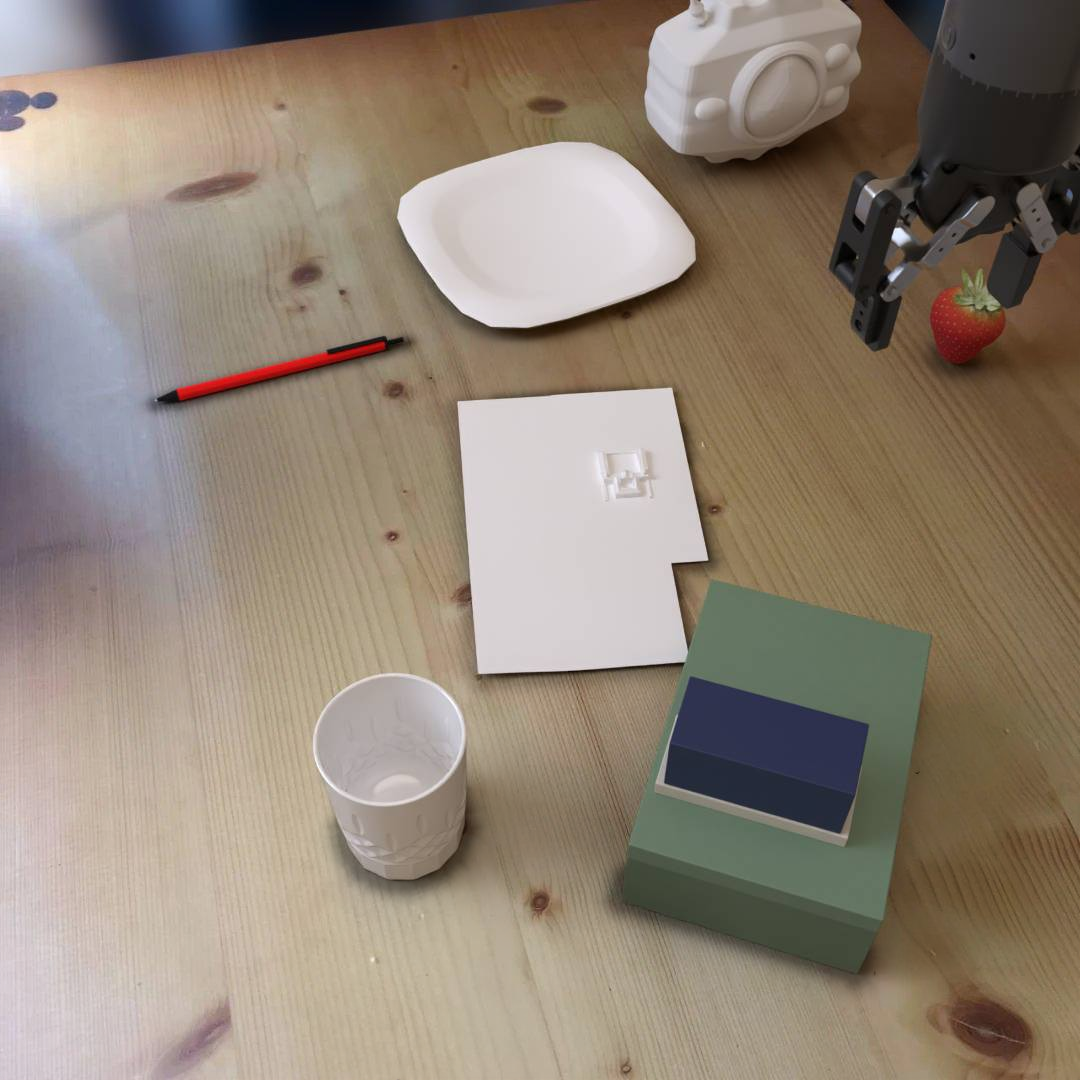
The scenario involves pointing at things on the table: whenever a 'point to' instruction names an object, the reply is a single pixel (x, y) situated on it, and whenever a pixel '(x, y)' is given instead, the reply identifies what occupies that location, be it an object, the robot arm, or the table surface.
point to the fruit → (966, 319)
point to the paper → (577, 529)
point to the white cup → (395, 772)
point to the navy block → (764, 760)
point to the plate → (544, 235)
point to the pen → (282, 368)
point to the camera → (749, 74)
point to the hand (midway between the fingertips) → (937, 319)
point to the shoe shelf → (768, 852)
